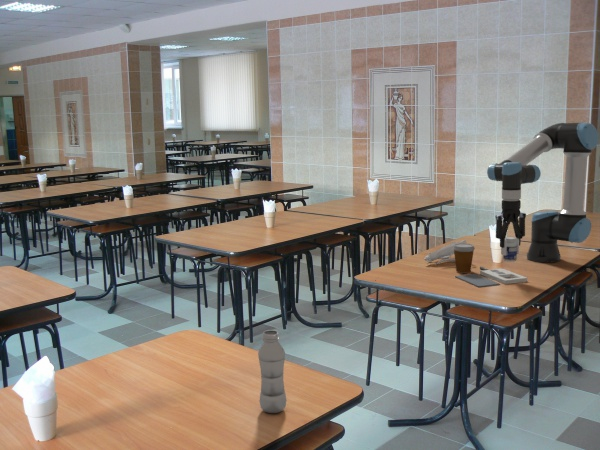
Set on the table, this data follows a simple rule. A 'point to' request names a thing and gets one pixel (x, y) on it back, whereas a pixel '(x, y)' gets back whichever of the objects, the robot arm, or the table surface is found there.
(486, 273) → the socket strip
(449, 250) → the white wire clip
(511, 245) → the pill bottle
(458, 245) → the disposable coffee cup
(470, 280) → the rubber mat
